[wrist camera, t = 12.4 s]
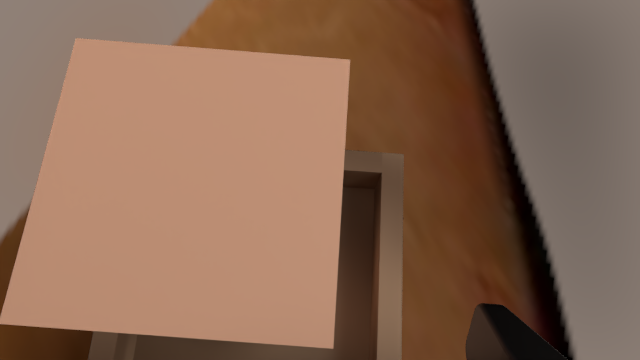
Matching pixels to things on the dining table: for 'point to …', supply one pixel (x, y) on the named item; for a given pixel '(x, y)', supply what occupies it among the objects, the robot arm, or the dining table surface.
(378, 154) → the walnut slot tray
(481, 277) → the dining table surface
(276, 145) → the terracotta peg
